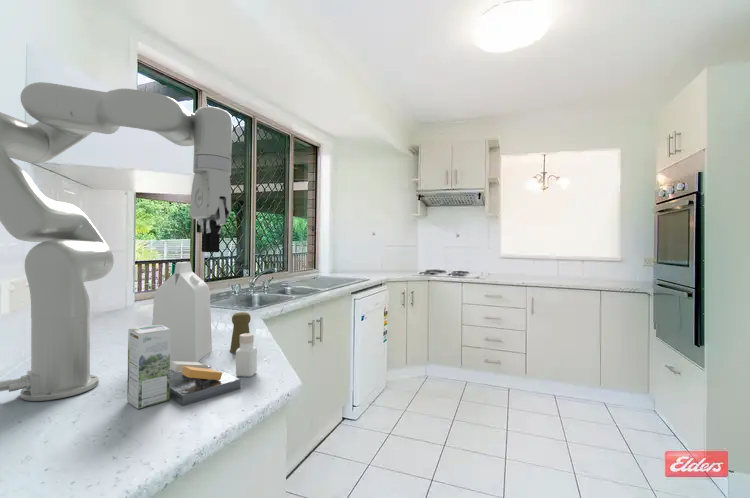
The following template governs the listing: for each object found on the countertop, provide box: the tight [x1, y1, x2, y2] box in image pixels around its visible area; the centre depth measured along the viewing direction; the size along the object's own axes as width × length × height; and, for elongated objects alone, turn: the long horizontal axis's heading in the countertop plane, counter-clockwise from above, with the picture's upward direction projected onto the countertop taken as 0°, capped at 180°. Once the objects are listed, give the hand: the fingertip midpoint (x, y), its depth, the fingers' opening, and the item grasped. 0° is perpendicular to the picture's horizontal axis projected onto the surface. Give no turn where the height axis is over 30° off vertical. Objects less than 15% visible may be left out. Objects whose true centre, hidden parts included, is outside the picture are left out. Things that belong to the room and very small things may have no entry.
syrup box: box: [126, 325, 171, 410], centre depth 73 cm, size 6×6×14 cm
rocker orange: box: [181, 366, 222, 380], centre depth 78 cm, size 7×3×2 cm, turn 139°
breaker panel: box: [169, 364, 242, 407], centre depth 81 cm, size 12×14×3 cm
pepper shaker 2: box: [235, 332, 258, 378], centre depth 89 cm, size 4×4×10 cm
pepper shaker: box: [229, 311, 251, 354], centre depth 110 cm, size 6×6×11 cm
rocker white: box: [170, 361, 209, 373], centre depth 82 cm, size 7×3×2 cm, turn 139°
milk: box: [151, 261, 213, 362], centre depth 103 cm, size 12×12×26 cm
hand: (210, 251), depth 81 cm, fingers closed
